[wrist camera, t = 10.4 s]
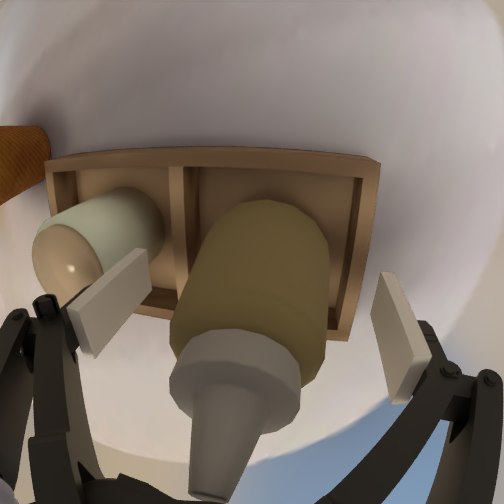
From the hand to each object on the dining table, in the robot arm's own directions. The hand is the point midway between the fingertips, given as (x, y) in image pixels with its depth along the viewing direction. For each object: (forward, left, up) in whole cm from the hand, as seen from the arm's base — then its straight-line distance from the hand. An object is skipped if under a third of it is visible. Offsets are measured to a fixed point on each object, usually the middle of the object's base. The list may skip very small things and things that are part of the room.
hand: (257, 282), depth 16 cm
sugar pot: (0, -12, -7) cm, 14 cm away
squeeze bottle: (0, 0, -7) cm, 7 cm away
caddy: (0, -6, -8) cm, 10 cm away
